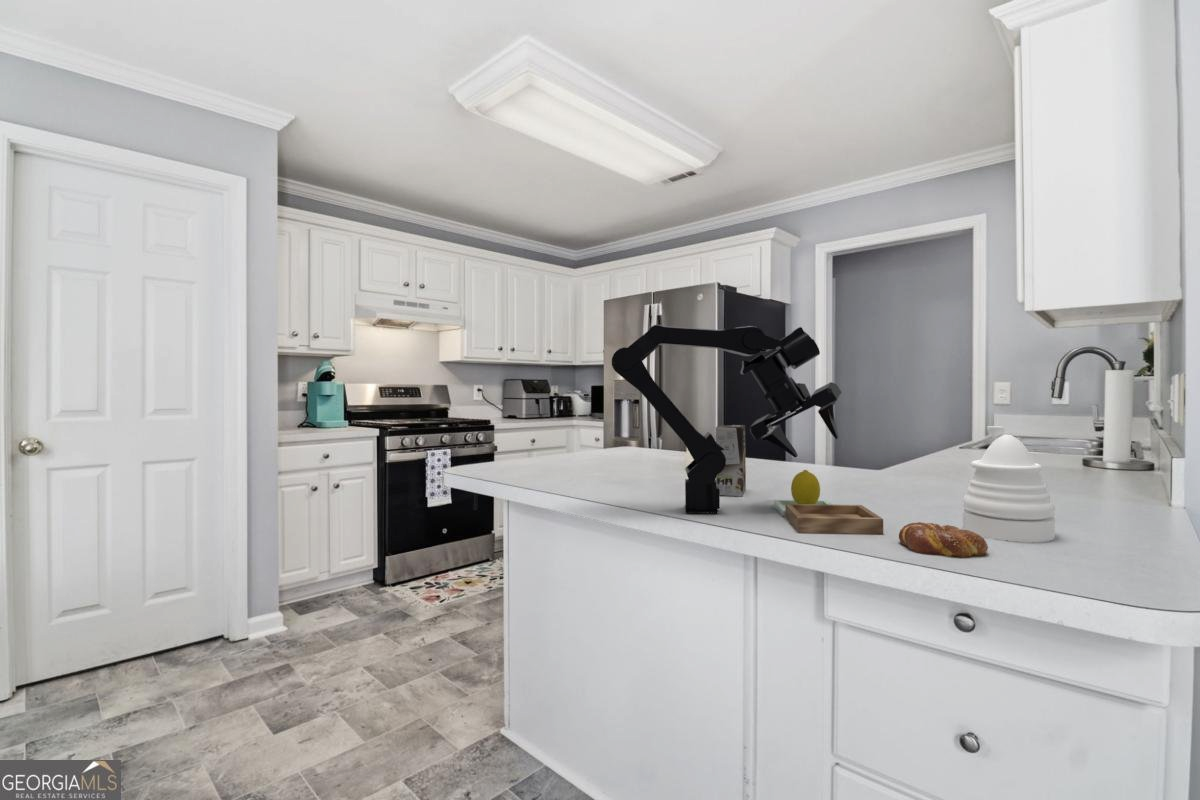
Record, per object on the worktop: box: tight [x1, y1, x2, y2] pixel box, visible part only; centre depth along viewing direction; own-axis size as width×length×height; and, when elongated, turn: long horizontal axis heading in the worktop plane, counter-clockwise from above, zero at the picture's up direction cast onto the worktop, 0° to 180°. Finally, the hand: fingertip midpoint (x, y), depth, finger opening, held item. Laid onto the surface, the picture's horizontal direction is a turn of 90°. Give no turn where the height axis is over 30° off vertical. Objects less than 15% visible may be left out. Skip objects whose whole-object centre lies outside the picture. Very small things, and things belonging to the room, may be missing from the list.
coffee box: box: [715, 424, 747, 497], centre depth 140 cm, size 9×6×16 cm
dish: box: [772, 499, 833, 518], centre depth 119 cm, size 11×11×1 cm
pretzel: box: [898, 521, 989, 558], centre depth 91 cm, size 12×11×4 cm
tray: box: [785, 504, 884, 535], centre depth 107 cm, size 14×12×3 cm
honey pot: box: [962, 425, 1056, 543], centre depth 100 cm, size 13×13×18 cm
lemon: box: [790, 469, 821, 504], centre depth 119 cm, size 6×6×8 cm
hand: (816, 447), depth 118 cm, fingers open, 9 cm apart
